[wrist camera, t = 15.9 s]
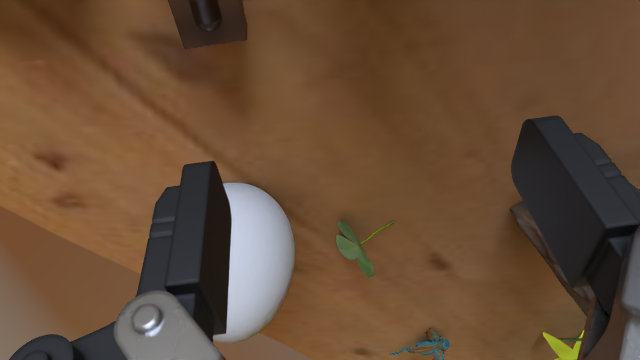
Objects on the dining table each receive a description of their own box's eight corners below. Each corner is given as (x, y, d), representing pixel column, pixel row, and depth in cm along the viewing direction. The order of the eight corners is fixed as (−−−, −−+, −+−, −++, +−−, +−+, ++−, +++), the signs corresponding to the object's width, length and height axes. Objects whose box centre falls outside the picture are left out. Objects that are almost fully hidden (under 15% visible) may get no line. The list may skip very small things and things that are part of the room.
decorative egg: (208, 253, 55) (198, 380, 44) (153, 187, 46) (124, 324, 36) (305, 226, 53) (319, 351, 43) (266, 152, 45) (271, 285, 34)
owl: (617, 154, 50) (760, 322, 36) (634, 211, 58) (758, 367, 44) (507, 206, 55) (597, 374, 40) (537, 253, 62) (621, 407, 48)
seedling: (362, 198, 58) (321, 226, 56) (392, 190, 51) (347, 223, 48) (391, 245, 59) (352, 275, 56) (425, 245, 51) (382, 279, 49)
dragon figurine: (423, 362, 81) (459, 362, 75) (394, 374, 77) (430, 375, 71) (413, 324, 83) (448, 321, 77) (384, 334, 78) (419, 332, 72)
